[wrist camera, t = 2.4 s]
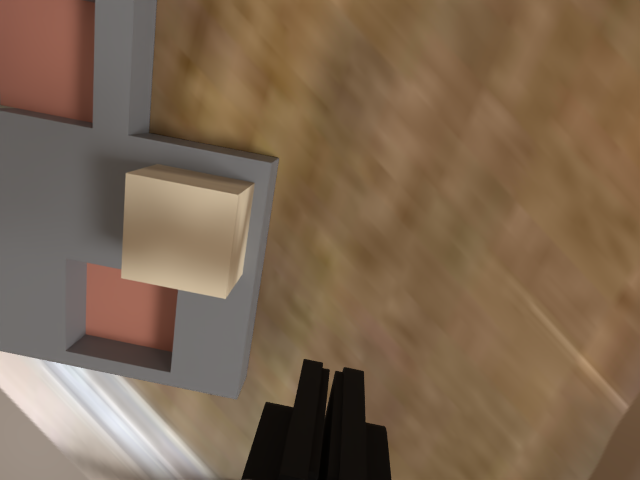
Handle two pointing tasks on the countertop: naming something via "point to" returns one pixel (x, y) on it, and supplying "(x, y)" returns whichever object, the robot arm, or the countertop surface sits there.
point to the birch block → (185, 229)
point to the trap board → (105, 204)
